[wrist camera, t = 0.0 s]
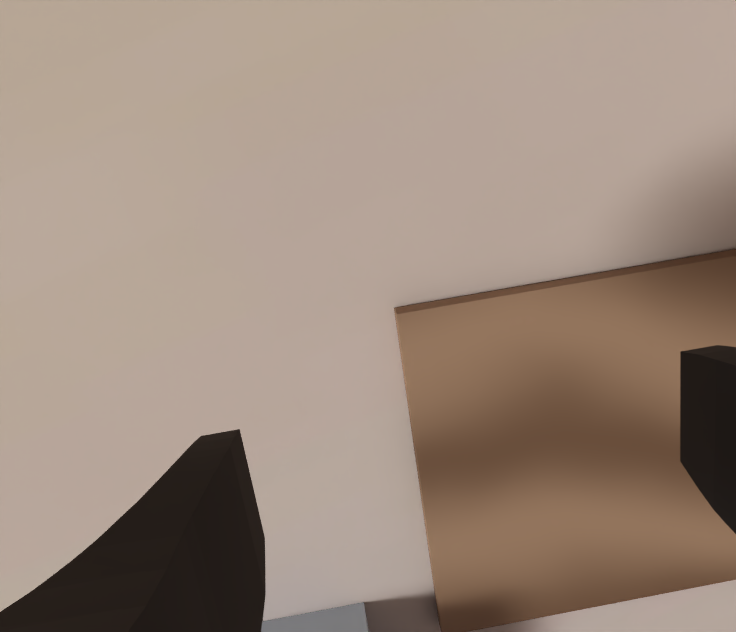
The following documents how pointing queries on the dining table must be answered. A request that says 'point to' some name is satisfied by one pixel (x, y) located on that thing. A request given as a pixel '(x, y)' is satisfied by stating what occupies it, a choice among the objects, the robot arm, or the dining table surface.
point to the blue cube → (322, 621)
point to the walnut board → (564, 440)
